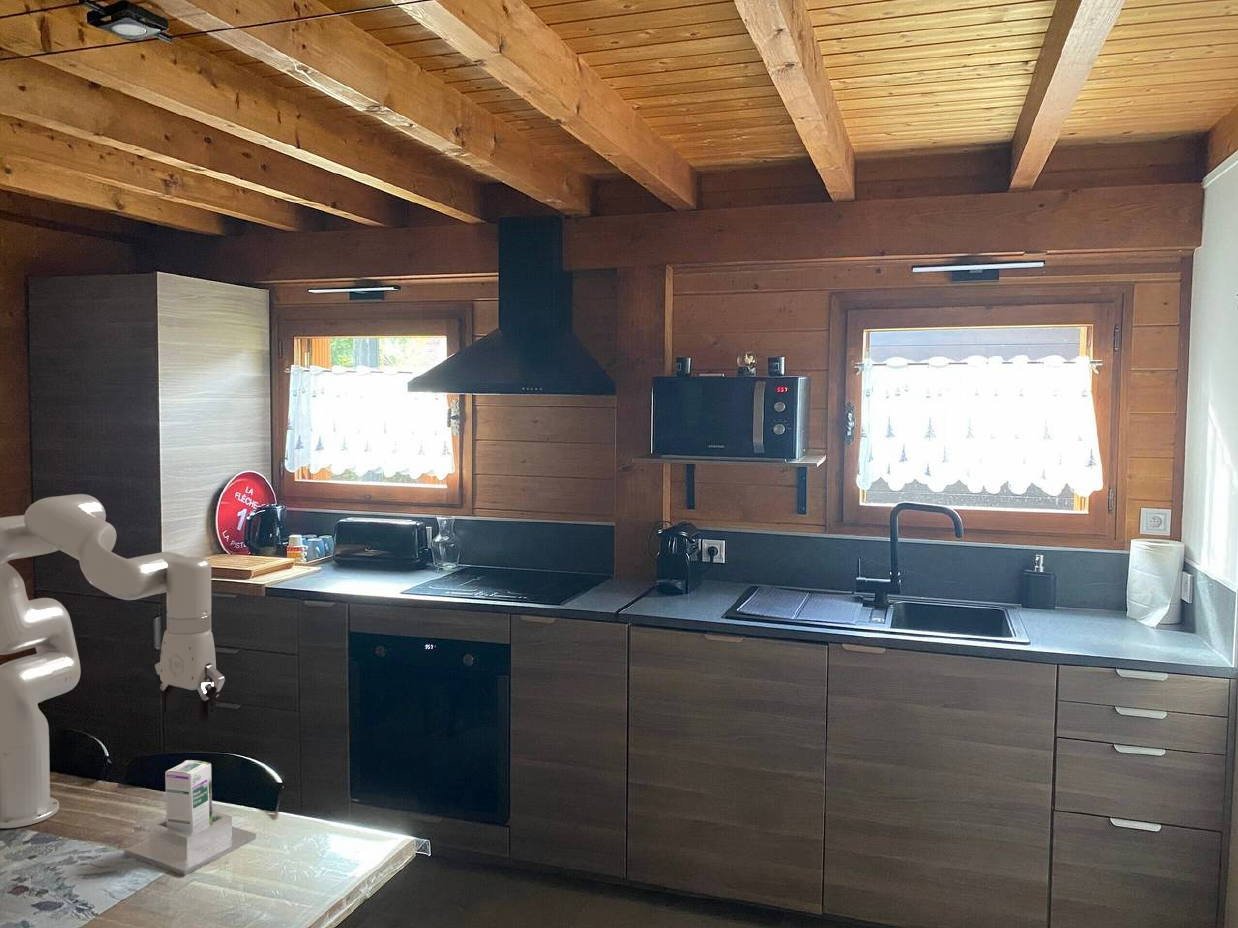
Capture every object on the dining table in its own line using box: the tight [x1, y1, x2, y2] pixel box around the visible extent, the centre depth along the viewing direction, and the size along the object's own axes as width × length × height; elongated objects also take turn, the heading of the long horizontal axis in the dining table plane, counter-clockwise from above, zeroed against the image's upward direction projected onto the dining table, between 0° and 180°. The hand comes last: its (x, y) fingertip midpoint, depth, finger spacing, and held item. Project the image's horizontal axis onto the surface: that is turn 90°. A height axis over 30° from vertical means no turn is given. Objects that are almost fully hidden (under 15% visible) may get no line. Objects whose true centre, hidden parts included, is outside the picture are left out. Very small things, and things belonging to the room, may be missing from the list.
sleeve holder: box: [123, 809, 257, 877], centre depth 176 cm, size 16×16×5 cm
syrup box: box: [164, 759, 213, 834], centre depth 176 cm, size 6×6×14 cm
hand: (189, 714), depth 174 cm, fingers open, 9 cm apart
